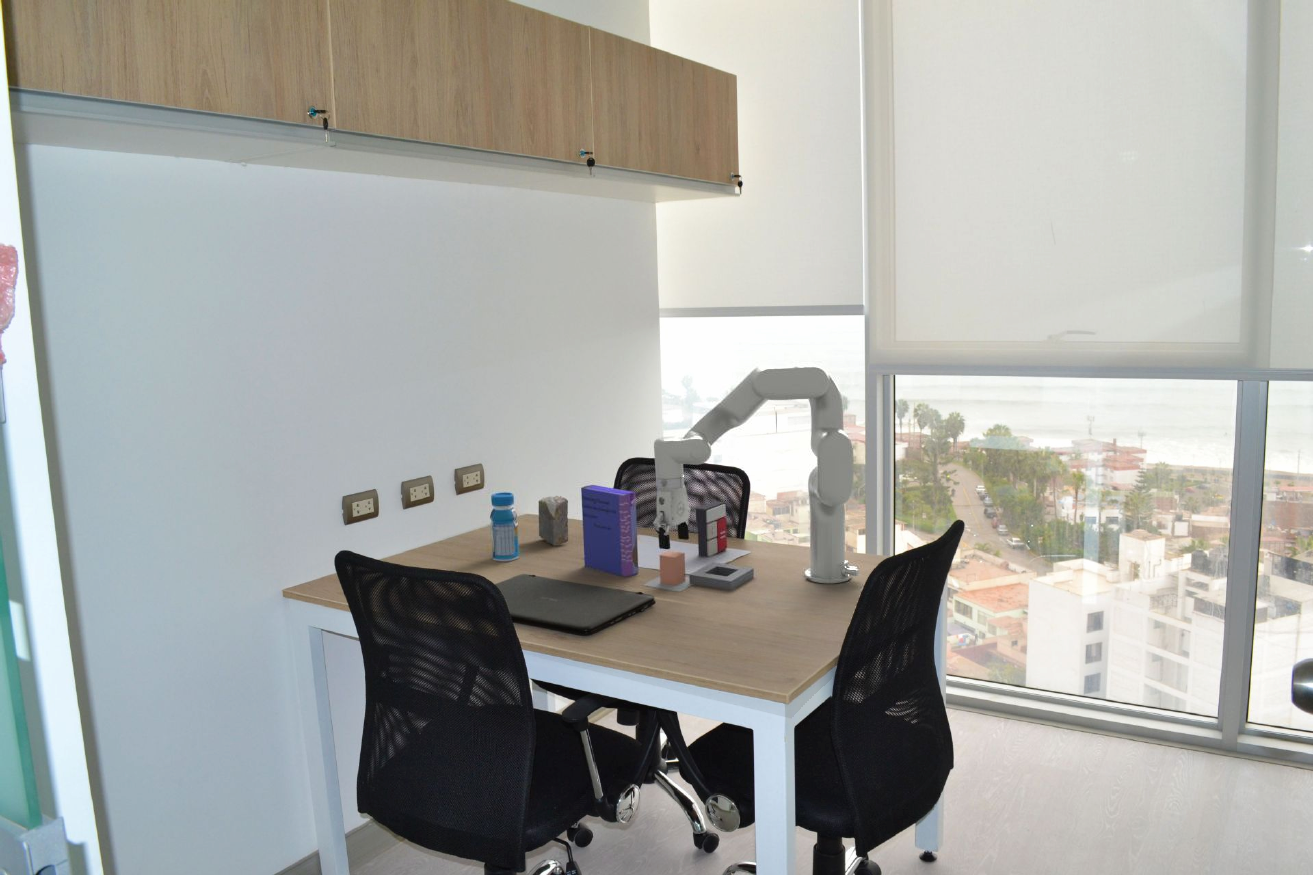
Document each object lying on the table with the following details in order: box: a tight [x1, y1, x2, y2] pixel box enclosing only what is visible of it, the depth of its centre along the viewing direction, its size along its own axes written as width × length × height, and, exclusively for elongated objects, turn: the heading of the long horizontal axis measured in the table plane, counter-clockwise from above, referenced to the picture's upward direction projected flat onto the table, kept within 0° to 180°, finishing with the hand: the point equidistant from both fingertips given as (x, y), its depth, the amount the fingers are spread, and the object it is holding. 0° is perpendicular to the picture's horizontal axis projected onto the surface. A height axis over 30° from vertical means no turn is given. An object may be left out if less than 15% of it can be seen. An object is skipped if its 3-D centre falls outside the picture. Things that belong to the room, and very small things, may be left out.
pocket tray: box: [688, 561, 755, 591], centre depth 269 cm, size 13×13×3 cm
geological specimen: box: [538, 495, 569, 546], centre depth 314 cm, size 11×6×15 cm, turn 33°
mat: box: [642, 575, 695, 593], centre depth 269 cm, size 12×12×1 cm
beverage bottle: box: [489, 492, 520, 562], centre depth 297 cm, size 8×8×20 cm
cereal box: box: [580, 484, 639, 578], centre depth 282 cm, size 17×5×24 cm, turn 47°
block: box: [659, 550, 686, 586], centre depth 268 cm, size 5×5×8 cm
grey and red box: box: [695, 500, 728, 558], centre depth 296 cm, size 11×4×15 cm, turn 143°
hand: (674, 543), depth 267 cm, fingers open, 9 cm apart
